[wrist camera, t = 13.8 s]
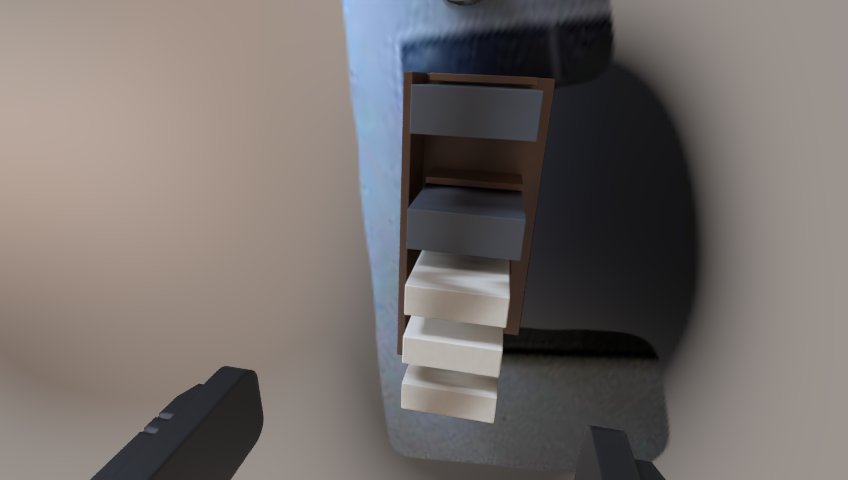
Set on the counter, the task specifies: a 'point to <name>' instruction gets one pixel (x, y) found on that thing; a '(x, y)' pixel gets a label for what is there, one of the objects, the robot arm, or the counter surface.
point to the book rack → (467, 217)
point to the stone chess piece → (464, 2)
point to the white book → (453, 346)
